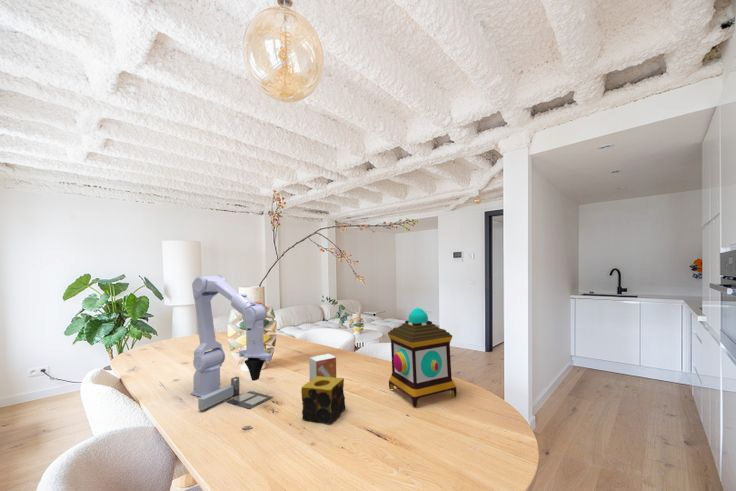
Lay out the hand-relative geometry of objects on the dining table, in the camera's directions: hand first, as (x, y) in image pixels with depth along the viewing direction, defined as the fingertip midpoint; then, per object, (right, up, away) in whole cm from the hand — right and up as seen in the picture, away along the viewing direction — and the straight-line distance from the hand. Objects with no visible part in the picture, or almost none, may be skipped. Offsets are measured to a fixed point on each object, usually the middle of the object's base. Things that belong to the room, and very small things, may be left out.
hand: (255, 379), depth 107 cm
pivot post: (-9, -8, +6) cm, 14 cm away
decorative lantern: (+58, -6, +1) cm, 59 cm away
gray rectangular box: (-13, -7, -1) cm, 15 cm away
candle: (+26, -6, -12) cm, 29 cm away
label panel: (-2, -8, +1) cm, 8 cm away
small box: (+23, -7, +4) cm, 25 cm away
